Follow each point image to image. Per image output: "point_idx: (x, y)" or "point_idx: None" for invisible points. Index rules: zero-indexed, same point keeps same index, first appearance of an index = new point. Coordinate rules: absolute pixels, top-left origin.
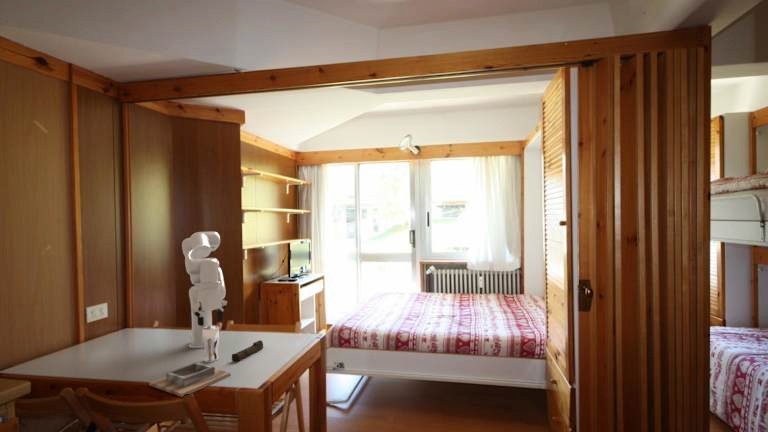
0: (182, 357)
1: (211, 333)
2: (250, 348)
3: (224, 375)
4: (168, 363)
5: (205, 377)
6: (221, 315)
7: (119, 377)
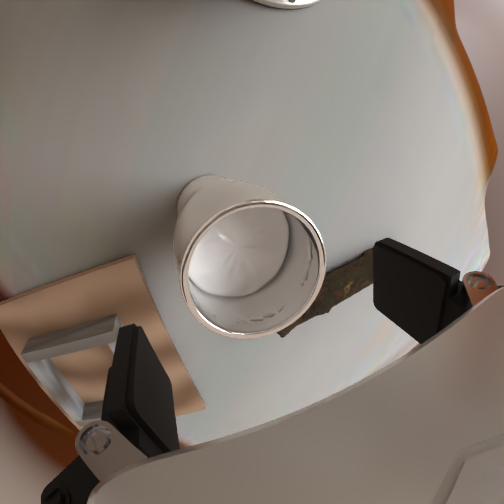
0: (128, 53)
1: (228, 319)
2: (351, 295)
3: (186, 413)
4: (57, 95)
5: None
6: (410, 330)
7: None
